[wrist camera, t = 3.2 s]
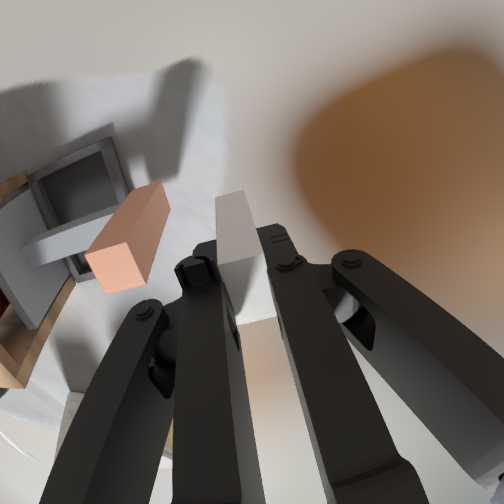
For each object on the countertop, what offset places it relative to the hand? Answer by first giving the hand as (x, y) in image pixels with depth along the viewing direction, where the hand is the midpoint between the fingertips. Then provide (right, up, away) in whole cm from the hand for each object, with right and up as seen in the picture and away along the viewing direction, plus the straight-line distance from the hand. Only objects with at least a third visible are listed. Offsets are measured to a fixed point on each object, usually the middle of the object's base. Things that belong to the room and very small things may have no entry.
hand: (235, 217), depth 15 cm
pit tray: (-14, +2, +8) cm, 17 cm away
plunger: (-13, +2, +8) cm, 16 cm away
